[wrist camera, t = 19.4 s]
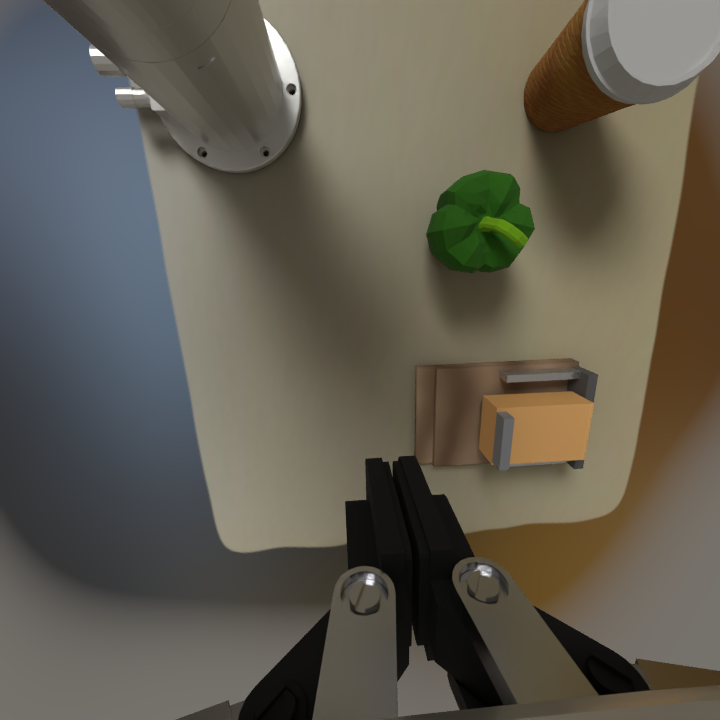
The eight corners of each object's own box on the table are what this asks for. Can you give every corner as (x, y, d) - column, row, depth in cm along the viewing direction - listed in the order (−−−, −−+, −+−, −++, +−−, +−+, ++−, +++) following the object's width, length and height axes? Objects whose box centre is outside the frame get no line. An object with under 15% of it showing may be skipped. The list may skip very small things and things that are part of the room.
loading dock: (414, 460, 42) (423, 483, 38) (415, 366, 39) (425, 379, 35) (557, 451, 43) (582, 472, 39) (570, 358, 40) (598, 370, 36)
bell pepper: (400, 218, 35) (425, 202, 25) (472, 170, 34) (525, 133, 24) (441, 290, 37) (478, 300, 27) (509, 245, 36) (572, 240, 27)
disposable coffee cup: (579, 164, 35) (701, 116, 23) (491, 132, 33) (574, 64, 22) (622, 54, 32) (782, -61, 21) (530, 15, 31) (646, -131, 19)
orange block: (474, 443, 41) (498, 474, 35) (478, 391, 39) (504, 414, 33) (557, 438, 41) (595, 468, 35) (565, 387, 39) (606, 409, 33)
